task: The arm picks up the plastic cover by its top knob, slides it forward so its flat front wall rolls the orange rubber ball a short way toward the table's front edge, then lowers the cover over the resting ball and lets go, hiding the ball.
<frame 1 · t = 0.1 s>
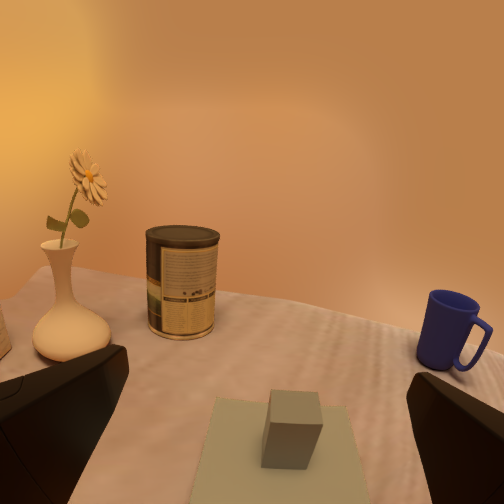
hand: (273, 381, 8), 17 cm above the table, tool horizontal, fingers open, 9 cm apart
flower in vase: (77, 344, 34), on the table
mug: (441, 368, 35), on the table
cover: (271, 493, 17), on the table
coffee can: (181, 324, 44), on the table
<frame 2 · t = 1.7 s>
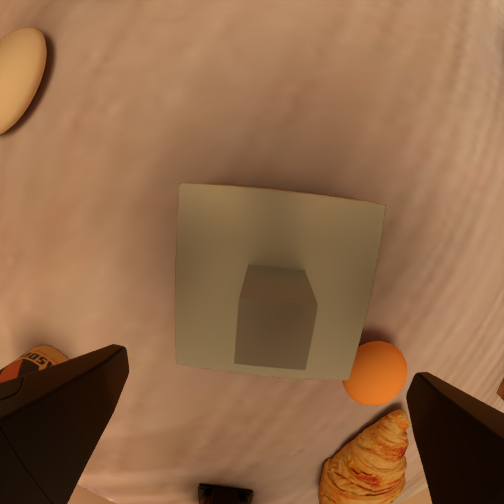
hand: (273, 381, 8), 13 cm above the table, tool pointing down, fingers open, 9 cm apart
croissant: (360, 464, 26), on the table
coffee cup: (58, 374, 25), on the table
flower in vase: (20, 75, 19), on the table
cover: (273, 263, 21), on the table
ball: (374, 373, 20), on the table
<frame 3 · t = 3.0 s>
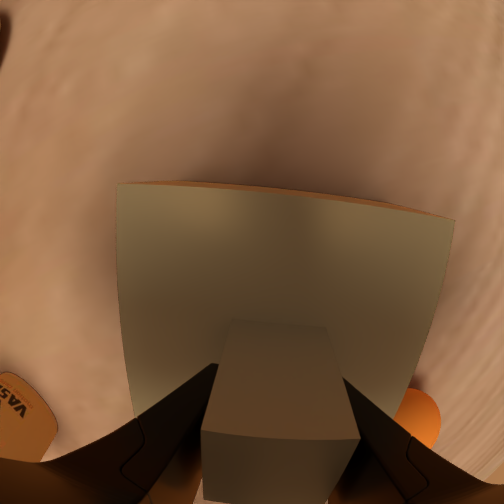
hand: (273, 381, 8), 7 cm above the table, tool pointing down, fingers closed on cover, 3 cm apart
coffee cup: (28, 404, 20), on the table
cover: (273, 293, 15), on the table, touching gripper
ball: (400, 427, 14), on the table
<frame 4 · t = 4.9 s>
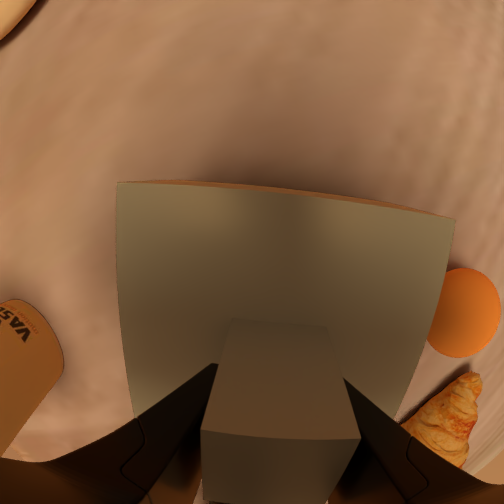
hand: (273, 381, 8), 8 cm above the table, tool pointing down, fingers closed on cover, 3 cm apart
croissant: (409, 451, 20), on the table
coffee cup: (31, 340, 19), on the table
cover: (273, 293, 15), point 1 cm above the table, touching gripper
ball: (461, 313, 13), on the table
when the fingers open (7 cm above the table, at t = 9.9 s): cover stays where it is, on the table.
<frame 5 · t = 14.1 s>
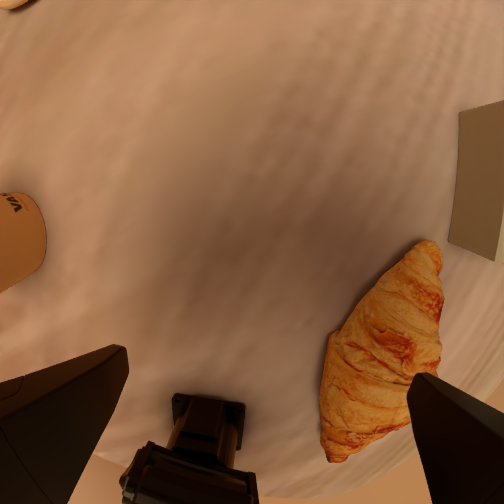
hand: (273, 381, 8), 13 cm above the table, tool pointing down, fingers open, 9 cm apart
croissant: (376, 357, 23), on the table
coffee cup: (21, 233, 22), on the table
cover: (499, 189, 18), on the table
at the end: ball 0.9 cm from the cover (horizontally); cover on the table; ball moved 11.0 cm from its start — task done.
